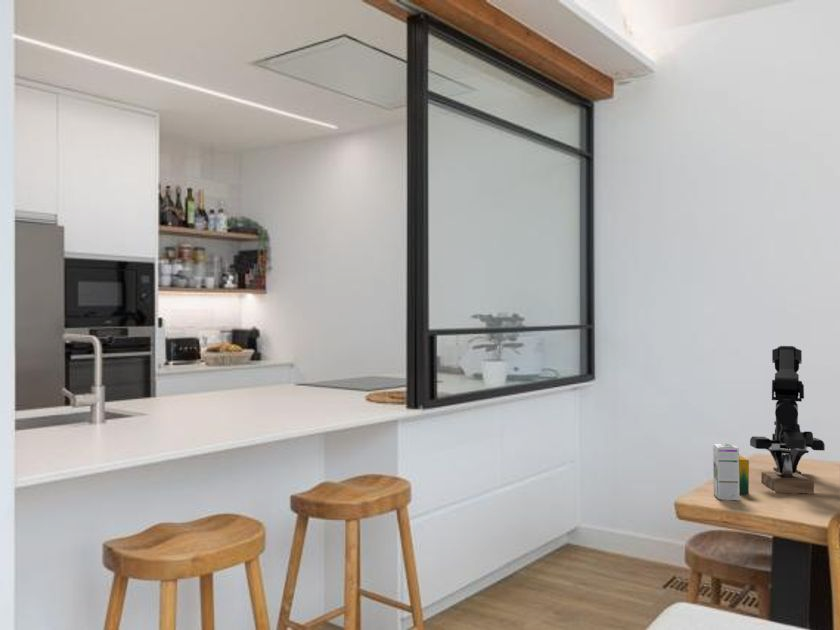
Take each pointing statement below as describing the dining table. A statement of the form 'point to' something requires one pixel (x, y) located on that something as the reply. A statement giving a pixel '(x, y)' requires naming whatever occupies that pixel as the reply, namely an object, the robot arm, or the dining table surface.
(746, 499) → the dining table surface
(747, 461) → the crayon box
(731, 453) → the syrup box
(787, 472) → the peg
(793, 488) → the hole block
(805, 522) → the dining table surface
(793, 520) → the dining table surface
